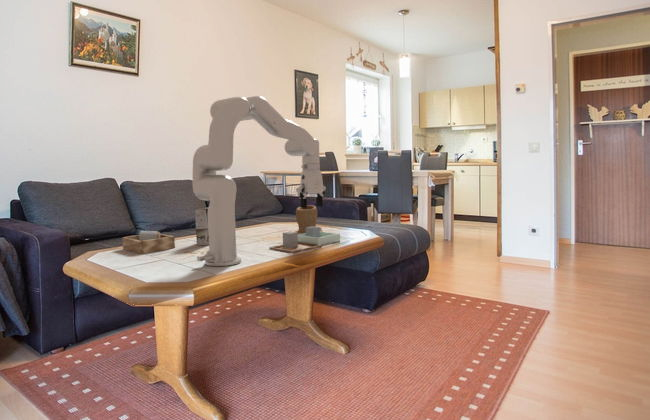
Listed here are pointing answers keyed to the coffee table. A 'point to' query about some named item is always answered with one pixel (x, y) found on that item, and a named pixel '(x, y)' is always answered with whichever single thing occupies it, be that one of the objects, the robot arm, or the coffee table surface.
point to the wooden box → (148, 244)
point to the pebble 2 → (313, 231)
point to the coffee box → (202, 226)
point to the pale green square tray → (320, 238)
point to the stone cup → (306, 218)
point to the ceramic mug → (149, 235)
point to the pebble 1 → (290, 239)
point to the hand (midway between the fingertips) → (311, 206)
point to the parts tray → (301, 247)
